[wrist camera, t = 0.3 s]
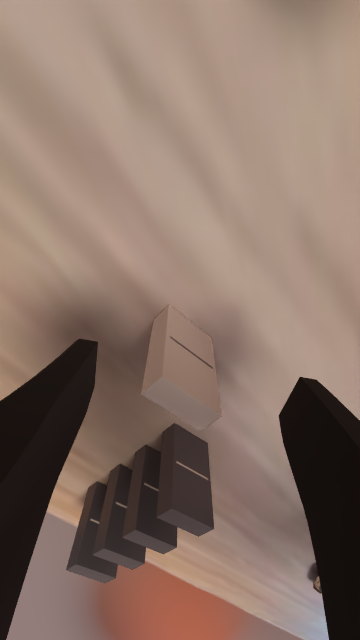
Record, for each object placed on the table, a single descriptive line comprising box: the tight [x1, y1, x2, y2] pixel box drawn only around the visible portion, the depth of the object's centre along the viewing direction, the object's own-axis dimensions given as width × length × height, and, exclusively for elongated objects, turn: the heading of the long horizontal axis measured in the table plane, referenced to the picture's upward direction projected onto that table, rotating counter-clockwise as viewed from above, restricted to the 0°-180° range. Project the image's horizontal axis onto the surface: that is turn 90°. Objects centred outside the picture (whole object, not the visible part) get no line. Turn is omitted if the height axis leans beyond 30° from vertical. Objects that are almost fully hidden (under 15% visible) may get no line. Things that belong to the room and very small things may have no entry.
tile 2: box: [122, 445, 177, 554], centre depth 26 cm, size 4×2×7 cm, turn 48°
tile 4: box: [66, 481, 118, 583], centre depth 29 cm, size 4×2×7 cm, turn 48°
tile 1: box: [157, 423, 214, 537], centre depth 24 cm, size 4×2×7 cm, turn 48°
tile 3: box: [92, 464, 146, 570], centre depth 27 cm, size 4×2×7 cm, turn 48°
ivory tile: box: [141, 305, 222, 431], centre depth 18 cm, size 4×2×7 cm, turn 48°
